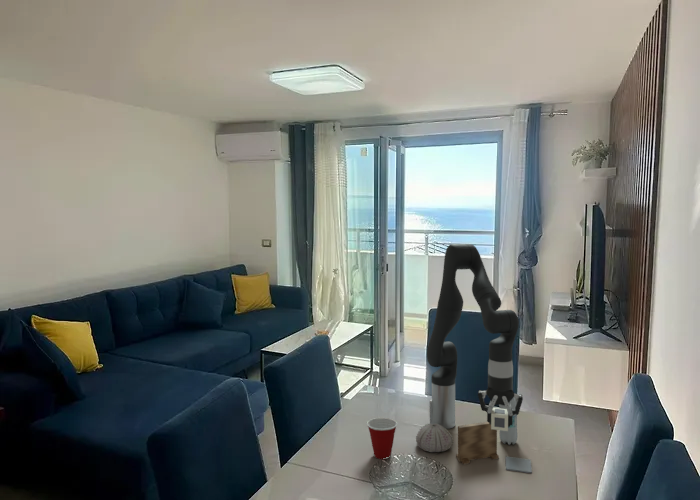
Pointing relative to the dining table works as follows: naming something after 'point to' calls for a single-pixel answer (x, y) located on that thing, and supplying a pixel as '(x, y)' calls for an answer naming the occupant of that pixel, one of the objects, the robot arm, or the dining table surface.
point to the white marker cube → (499, 419)
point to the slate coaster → (518, 464)
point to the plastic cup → (382, 436)
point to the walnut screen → (476, 442)
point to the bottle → (512, 430)
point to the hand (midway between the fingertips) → (499, 424)
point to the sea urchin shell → (434, 438)
